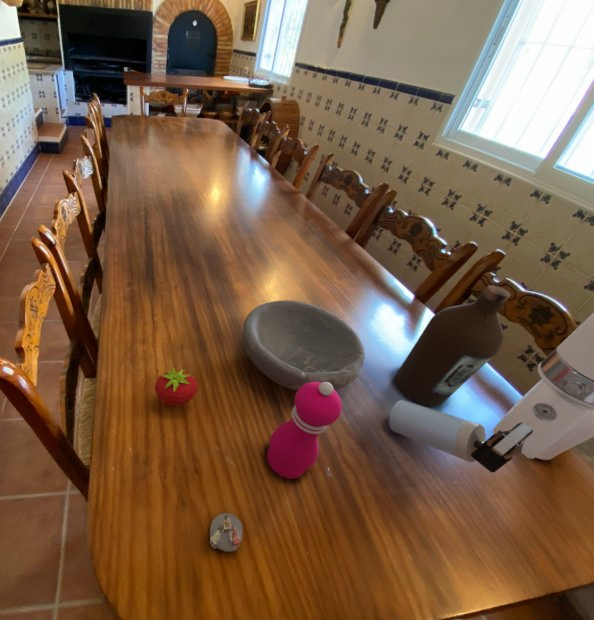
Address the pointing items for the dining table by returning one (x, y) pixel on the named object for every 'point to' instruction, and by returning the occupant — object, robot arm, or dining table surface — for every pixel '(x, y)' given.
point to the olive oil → (453, 348)
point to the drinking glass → (570, 438)
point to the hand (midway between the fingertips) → (488, 457)
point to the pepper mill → (303, 429)
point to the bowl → (302, 345)
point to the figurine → (226, 532)
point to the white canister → (437, 429)
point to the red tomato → (175, 387)
